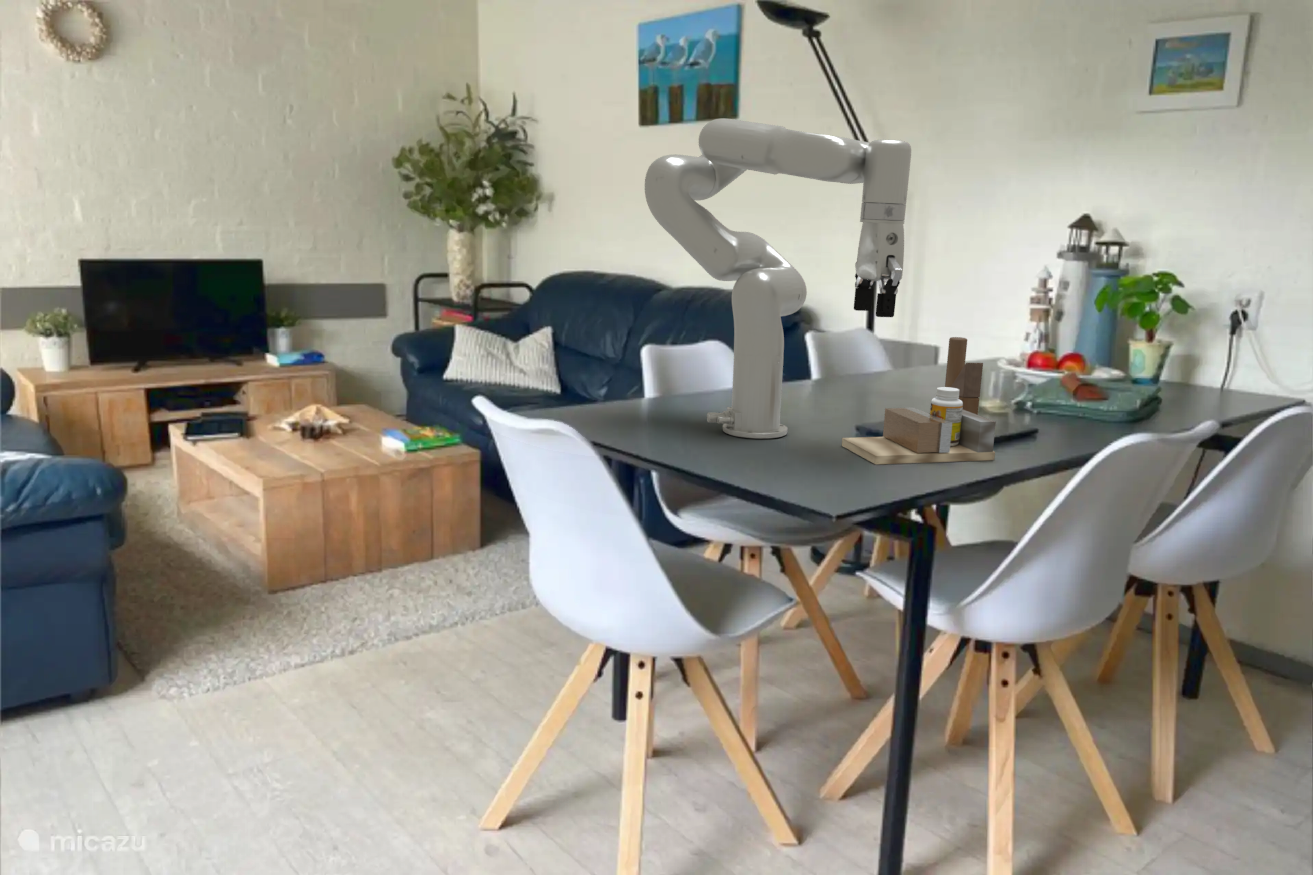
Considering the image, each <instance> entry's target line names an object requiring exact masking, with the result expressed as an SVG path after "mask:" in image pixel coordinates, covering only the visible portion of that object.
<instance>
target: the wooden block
mask: <svg viewBox="0 0 1313 875" xmlns="http://www.w3.org/2000/svg"><path fill="white" fill-rule="evenodd" d="M967 346H968V339H967V338H966V337H961V336H960V337H959V336H958V337H957V336H952V337H949V339H948V348H947V350H948V351H947V359H946V373H945V381H944V382H945V383H944V384H945V385H944V387H951V388H957V389H959V398H958V399H960V400H961V401H962V402H963V408H962V409H963V410H965V411H968V412H971V413H974V414H976V415H979V406H980V397H981V386H982V379H983V377H982V376H983V369H984V363H983V362H966V357H967Z"/></svg>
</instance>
